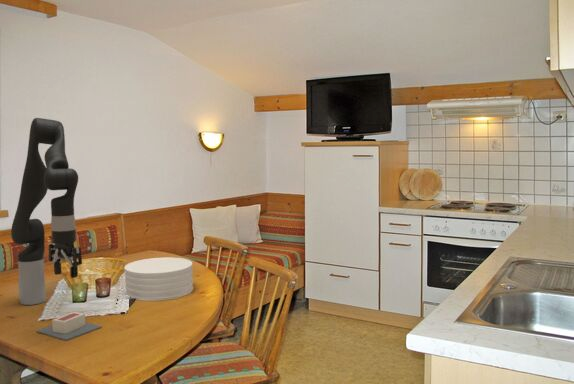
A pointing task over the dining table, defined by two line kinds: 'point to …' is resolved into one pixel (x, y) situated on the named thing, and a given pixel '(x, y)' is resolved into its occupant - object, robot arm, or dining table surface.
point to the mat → (70, 335)
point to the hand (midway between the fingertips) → (65, 275)
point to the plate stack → (158, 278)
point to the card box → (68, 322)
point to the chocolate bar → (129, 306)
